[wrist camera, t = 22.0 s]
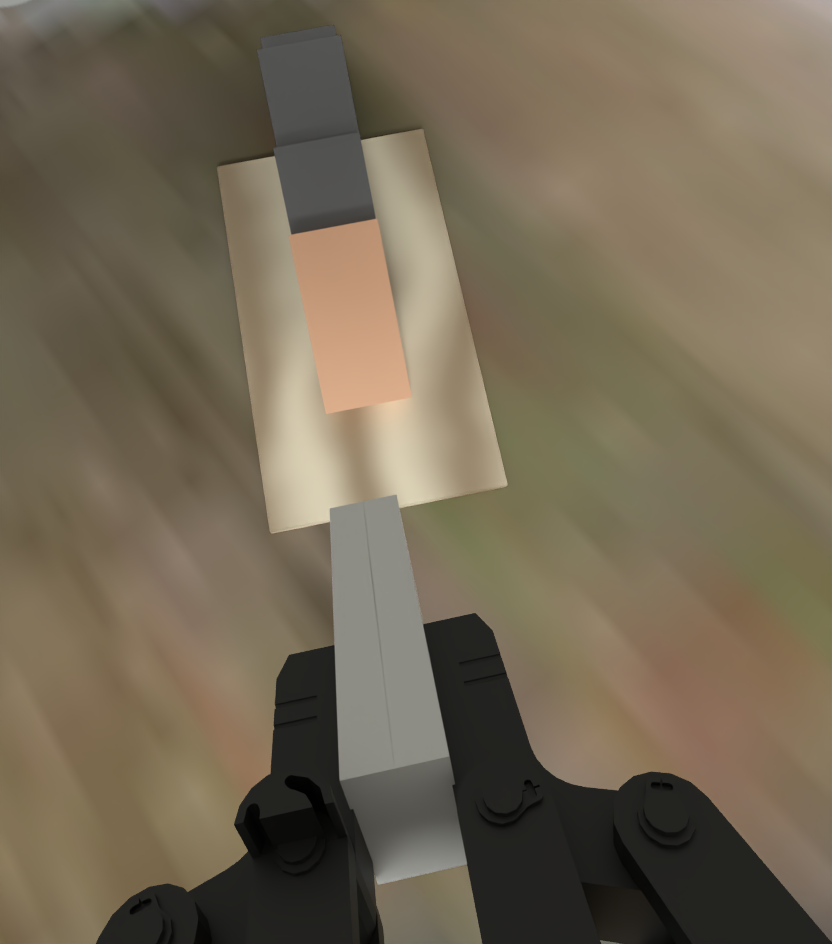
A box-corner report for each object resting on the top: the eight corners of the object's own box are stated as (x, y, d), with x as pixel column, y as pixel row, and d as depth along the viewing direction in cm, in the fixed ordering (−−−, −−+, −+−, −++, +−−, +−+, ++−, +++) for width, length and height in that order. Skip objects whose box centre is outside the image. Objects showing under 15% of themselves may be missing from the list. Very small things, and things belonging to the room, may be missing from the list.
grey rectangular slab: (373, 209, 40) (340, 35, 38) (292, 224, 40) (256, 49, 38) (374, 218, 42) (342, 52, 40) (297, 232, 42) (262, 66, 40)
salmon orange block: (411, 397, 37) (377, 218, 36) (326, 413, 37) (288, 235, 36) (410, 397, 39) (377, 227, 38) (328, 413, 39) (293, 243, 38)
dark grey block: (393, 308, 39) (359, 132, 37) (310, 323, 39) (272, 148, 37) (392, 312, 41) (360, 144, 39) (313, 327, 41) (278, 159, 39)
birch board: (272, 533, 38) (269, 531, 38) (219, 172, 44) (216, 166, 43) (506, 486, 38) (507, 484, 38) (422, 135, 44) (422, 128, 44)
